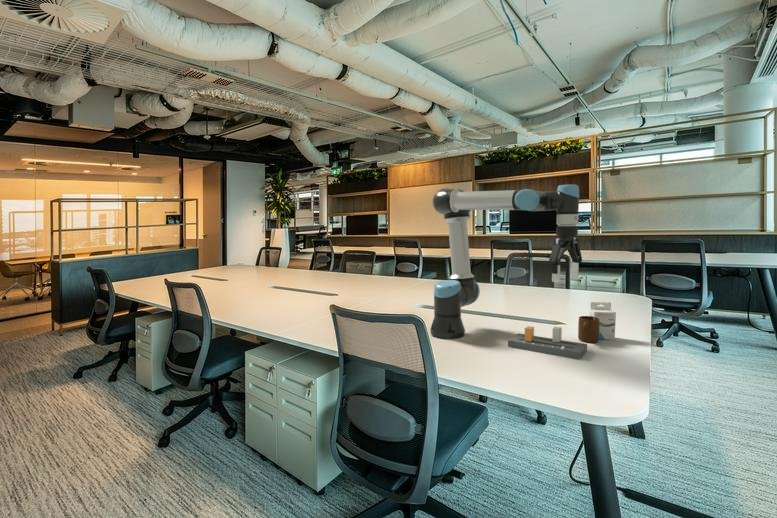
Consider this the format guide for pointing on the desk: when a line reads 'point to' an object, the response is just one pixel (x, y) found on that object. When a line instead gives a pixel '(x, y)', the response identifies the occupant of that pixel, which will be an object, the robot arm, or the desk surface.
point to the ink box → (604, 319)
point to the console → (549, 346)
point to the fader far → (557, 334)
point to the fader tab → (529, 333)
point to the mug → (588, 329)
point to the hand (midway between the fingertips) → (565, 280)
